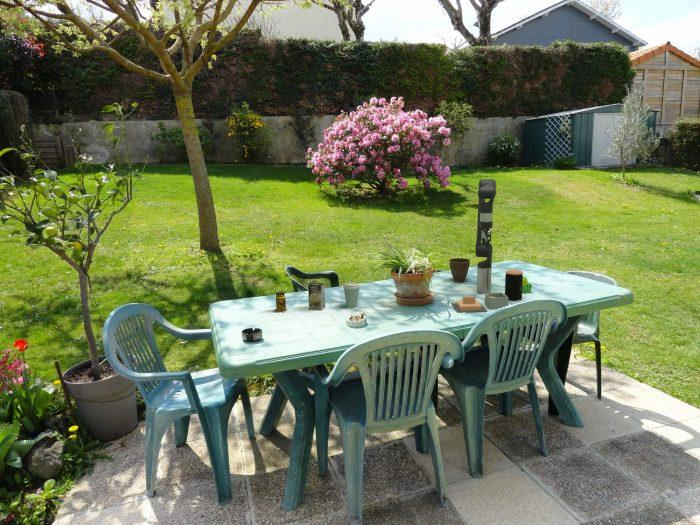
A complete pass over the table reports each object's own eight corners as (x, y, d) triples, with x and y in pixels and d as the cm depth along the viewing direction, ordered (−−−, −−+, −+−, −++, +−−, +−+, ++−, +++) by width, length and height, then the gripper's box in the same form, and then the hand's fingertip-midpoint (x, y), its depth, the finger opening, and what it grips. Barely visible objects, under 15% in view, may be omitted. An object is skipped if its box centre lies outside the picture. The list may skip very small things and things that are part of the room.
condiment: (284, 312, 308) (282, 294, 305) (271, 312, 310) (270, 293, 308) (288, 309, 315) (287, 290, 312) (276, 308, 317) (275, 290, 315)
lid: (456, 304, 312) (456, 294, 310) (476, 303, 311) (476, 293, 310) (460, 310, 299) (460, 300, 298) (481, 309, 299) (481, 299, 298)
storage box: (484, 303, 312) (485, 293, 310) (502, 303, 312) (502, 292, 310) (489, 309, 301) (489, 298, 299) (507, 308, 301) (508, 297, 299)
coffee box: (308, 309, 313) (307, 284, 310) (312, 306, 319) (311, 281, 315) (322, 310, 310) (320, 285, 307) (325, 307, 316) (324, 282, 312)
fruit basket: (529, 290, 338) (530, 274, 336) (532, 294, 330) (533, 277, 327) (512, 290, 339) (512, 274, 337) (515, 294, 331) (515, 277, 328)
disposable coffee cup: (352, 302, 324) (351, 280, 320) (364, 305, 316) (363, 282, 313) (340, 306, 316) (339, 283, 313) (352, 309, 309) (351, 286, 306)
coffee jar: (523, 301, 314) (524, 273, 310) (505, 301, 316) (506, 273, 312) (520, 296, 324) (522, 269, 320) (503, 296, 326) (504, 269, 322)
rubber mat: (451, 303, 314) (451, 303, 314) (479, 302, 314) (479, 302, 314) (457, 312, 297) (457, 312, 296) (487, 311, 297) (487, 311, 296)
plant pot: (471, 283, 359) (472, 262, 356) (451, 284, 360) (451, 262, 356) (467, 278, 374) (467, 257, 371) (447, 279, 374) (447, 258, 371)
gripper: (477, 218, 310) (476, 244, 313) (483, 222, 296) (482, 249, 300) (489, 218, 310) (488, 244, 313) (495, 221, 296) (495, 248, 299)
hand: (485, 246), depth 306 cm, fingers open, 8 cm apart
